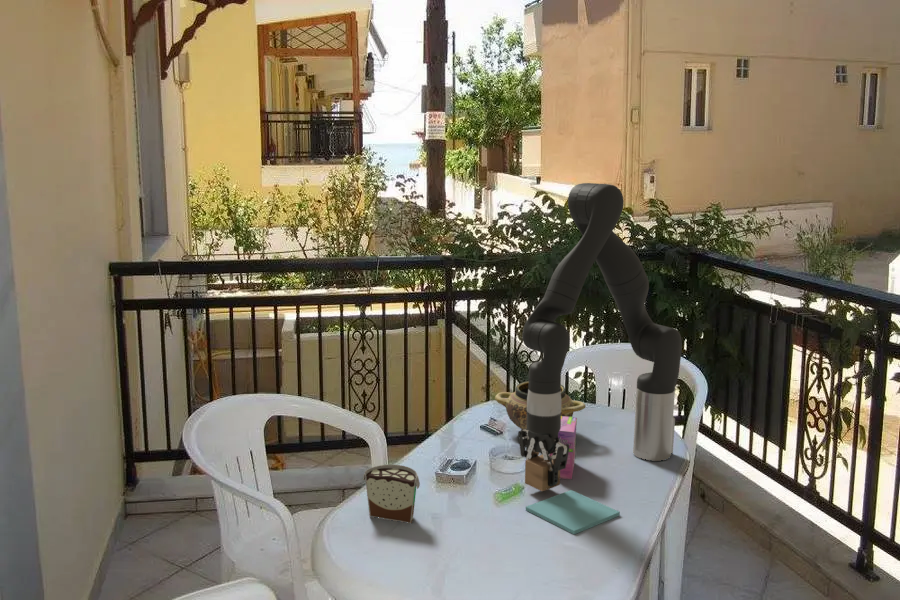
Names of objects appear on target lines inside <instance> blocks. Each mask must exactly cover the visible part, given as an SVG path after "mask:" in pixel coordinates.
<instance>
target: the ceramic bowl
mask: <svg viewBox="0 0 900 600" xmlns="http://www.w3.org/2000/svg"><path fill="white" fill-rule="evenodd" d="M528 387H529V380H526V381H523V382H520V383H518V384H517V385H516V386H515V388H514V389H515V391H514V392H509V391H508V392H507V391H502V392H501V391H500V392H498V393H497V394H496V395H495V397H494V399H495V401H496V403H498V404H500V405H501V406H503V407H504V408H505V409H506V414H507V416H508V417H509V419H510V421H511V422H512V423H513V424H514V425H515V426H516V427H518V428H519V429H520V431H521V430H524V429H527V396H528ZM586 407H587V406H586V404H585V402H583V401H579V400H573V399H572V398H571V397H570V396H569V395H568V394H567V393H566V387H565V386H564V385H563V384H561V416H566V417H574V413H575V412H579V411H580V412H581V411H582V410H584V409H586Z"/></svg>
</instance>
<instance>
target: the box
mask: <svg viewBox="0 0 900 600" xmlns="http://www.w3.org/2000/svg"><path fill="white" fill-rule="evenodd" d="M577 423H578V418H577V417H574V416H572V417H566V416H561V429H560V431H559V433H558V438H559V442H560V443H562V444H563V445H566V444H568V445H569V453H568V458H567V463H566V468H565V469H562V470H560V480H561V479H563V480H573V473H574V467H575V457H576V438H577V437H576V436H577ZM548 455H549V456H552V455H553V453H551V454H548Z"/></svg>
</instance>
